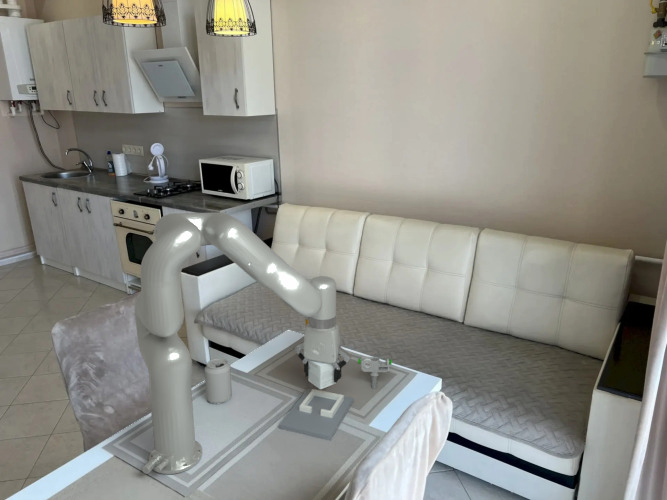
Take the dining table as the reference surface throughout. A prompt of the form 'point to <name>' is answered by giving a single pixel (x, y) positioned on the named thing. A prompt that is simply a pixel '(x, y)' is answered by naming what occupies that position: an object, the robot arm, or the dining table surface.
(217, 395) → the can
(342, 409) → the board
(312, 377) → the product box
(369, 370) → the mechanical component
